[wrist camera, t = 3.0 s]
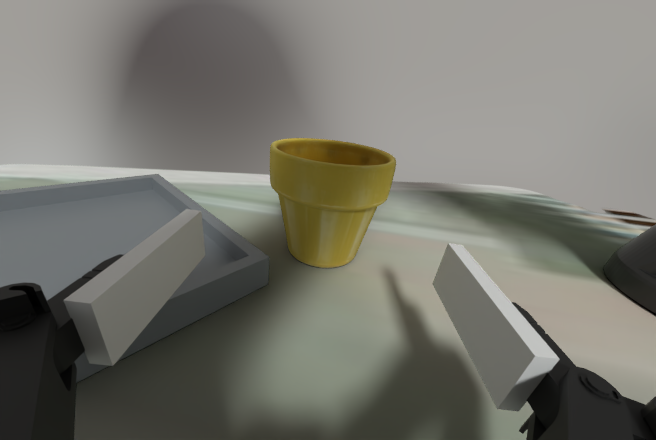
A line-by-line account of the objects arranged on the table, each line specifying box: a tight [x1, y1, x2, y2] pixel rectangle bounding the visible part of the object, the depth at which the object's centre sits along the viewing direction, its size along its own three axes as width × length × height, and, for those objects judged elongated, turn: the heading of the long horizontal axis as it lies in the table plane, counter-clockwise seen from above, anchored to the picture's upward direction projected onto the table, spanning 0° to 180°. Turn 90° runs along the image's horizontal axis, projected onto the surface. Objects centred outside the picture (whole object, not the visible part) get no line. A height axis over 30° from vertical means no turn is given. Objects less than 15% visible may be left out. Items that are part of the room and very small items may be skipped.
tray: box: [0, 174, 269, 383], centre depth 18 cm, size 22×22×2 cm
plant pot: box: [270, 138, 396, 268], centre depth 23 cm, size 10×10×10 cm
